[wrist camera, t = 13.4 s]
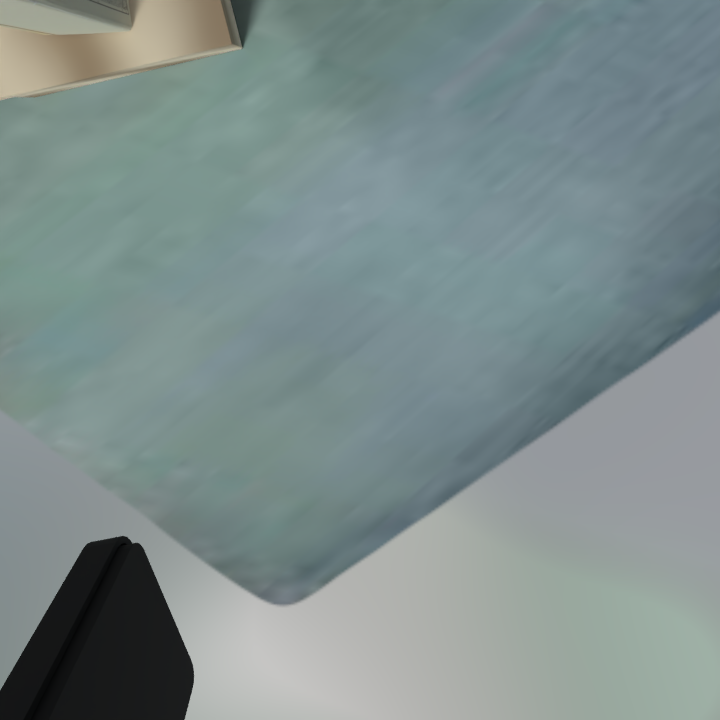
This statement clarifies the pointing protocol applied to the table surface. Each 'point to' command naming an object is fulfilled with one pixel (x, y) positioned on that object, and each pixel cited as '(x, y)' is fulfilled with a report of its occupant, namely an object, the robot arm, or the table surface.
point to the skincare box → (66, 16)
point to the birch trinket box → (116, 47)
